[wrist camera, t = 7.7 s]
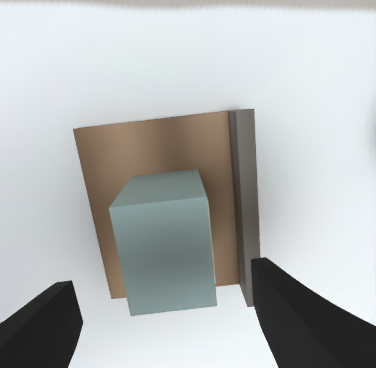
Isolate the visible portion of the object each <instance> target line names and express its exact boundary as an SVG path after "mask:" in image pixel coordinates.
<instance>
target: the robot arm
mask: <svg viewBox="0 0 376 368" xmlns="http://www.w3.org/2000/svg"><path fill="white" fill-rule="evenodd" d="M251 274H252V293H253V304H254V307H255V310H256V314H257V317H258V320H259V323H260V326H261V329H262V331H263V333H264V336H265V338H266V340H267V342H268V345H269V347H270V349H271V351H272V354H273V356H274V358H275V360H276V363H277V365H278V367H279V368H376V326H374V325H372V324H370V323H368V322H366V321H364V320H362V319H360V318H358V317H357V316H355V315H353V314H351V313H349V312H347V311H345V310H343V309H342V308H340V307H338V306H336V305H335V304H333V303H331V302H329V301H328V300H326V299H325V298H323V297H321V296H320V295H318V294H317V293H315V292H313V291H312V290H310V289H309V288H307V287H306V286H304V285H303V284H302V283H300V282H299V281H297V280H296V279H294V278H293V277H292V276H290V275H289V274H288V273H286V272H285V271H284V270H282V269H281V268H280V267H278V266H277V265H276V264H274V263H273V262H272V261H270V260H269V259H268V258H266V257H264V258H256V259H251ZM82 325H83V320H82V316H81V312H80V308H79V305H78V301H77V297H76V294H75V290H74V286H73V282H72V281H64V282H57V283H55V284H53V285H52V286H50V287H49V288H48V289H46V290H45V291H43V292H42V293H41V294H39V295H38V296H37V297H35V298H34V299H33V300H31V301H30V302H29V303H27V304H26V305H25V306H23V307H22V308H21V309H19V310H18V311H17V312H15V313H14V314H13V315H11V316H10V317H9V318H7V319H6V320H5V321H3V322H2V323H1V324H0V368H68V366H69V363H70V361H71V359H72V356H73V354H74V352H75V349H76V346H77V343H78V339H79V336H80V332H81V329H82Z"/></svg>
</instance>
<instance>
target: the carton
mask: <svg viewBox="0 0 376 368" xmlns="http://www.w3.org/2000/svg"><path fill="white" fill-rule="evenodd" d="M109 212H110V217H111V221H112V226H113V231H114V236H115V241H116V246H117V251H118V256H119V261H120V266H121V271H122V275H123V280H124V285H125V290H126V295H127V300H128V305H129V310H130V315H131V316H135V315H143V314H152V313H160V312H169V311H178V310H186V309H195V308H203V307H212V306H217V300H216V289H215V284H216V280H215V270H214V259H213V248H212V237H211V226H210V215H209V204H208V199H207V195H206V192H205V190H204V187H203V184H202V181H201V178H200V175H199V172H198V169H193V170H184V171H175V172H166V173H157V174H149V175H140V176H132V177H131V178H130V179H129V181H128V182H127V183H126V185H125V186H124V188H123V189H122V190H121V192H120V193H119V194H118V196H117V197H116V199H115V200H114V201H113V203H112V204H111V205H110V207H109Z"/></svg>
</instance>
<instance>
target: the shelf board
mask: <svg viewBox="0 0 376 368" xmlns="http://www.w3.org/2000/svg"><path fill="white" fill-rule="evenodd" d="M73 132H74V136H75V141H76V145H77V149H78V154H79V158H80V163H81V167H82V171H83V176H84V180H85V185H86V189H87V193H88V198H89V202H90V207H91V211H92V215H93V220H94V224H95V229H96V233H97V237H98V242H99V246H100V251H101V255H102V259H103V264H104V268H105V273H106V277H107V281H108V286H109V290H110V295H111V299H116V298H124V297H127V295H126V290H125V285H124V280H123V275H122V271H121V266H120V261H119V256H118V251H117V246H116V241H115V236H114V231H113V226H112V221H111V217H110V212H109V207H110V205H111V204H112V203H113V201H114V200H115V199H116V197H117V196H118V194H119V193H120V192H121V190H122V189H123V188H124V186H125V185H126V183H127V182H128V181H129V179H130V178H131V177H132V176H140V175H149V174H157V173H166V172H175V171H184V170H193V169H198V172H199V175H200V178H201V181H202V184H203V187H204V190H205V192H206V195H207V199H208V204H209V215H210V226H211V237H212V248H213V259H214V270H215V280H216V284H215V287H216V286H225V285H233V284H240V287H241V290H242V293H243V295H244V298H245V301H246V304H247V307H252V306H254V304H253V293H252V274H251V259H256V258H260V241H259V236H260V235H259V210H258V190H257V168H256V143H255V119H254V109H241V110H232V111H223V112H215V113H206V114H198V115H189V116H180V117H172V118H163V119H155V120H146V121H137V122H129V123H120V124H111V125H103V126H94V127H86V128H77V129H73Z"/></svg>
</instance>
